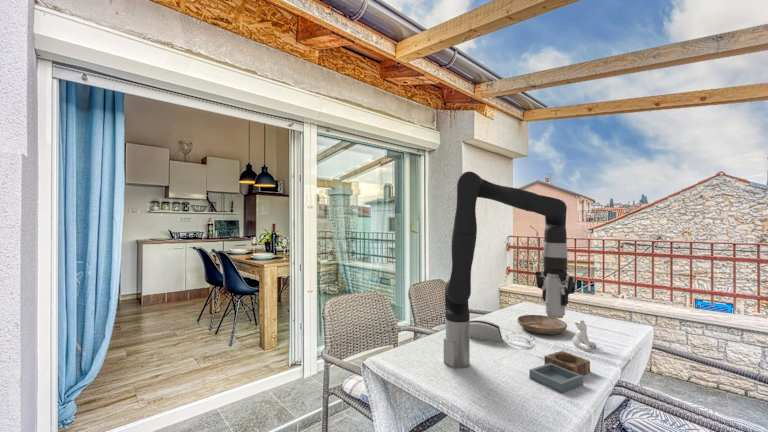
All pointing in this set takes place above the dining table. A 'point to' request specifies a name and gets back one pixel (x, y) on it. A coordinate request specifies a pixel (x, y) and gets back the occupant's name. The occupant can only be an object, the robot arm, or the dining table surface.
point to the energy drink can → (554, 297)
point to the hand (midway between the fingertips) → (555, 303)
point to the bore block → (568, 362)
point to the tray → (556, 377)
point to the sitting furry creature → (582, 337)
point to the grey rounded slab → (485, 330)
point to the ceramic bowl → (542, 324)
